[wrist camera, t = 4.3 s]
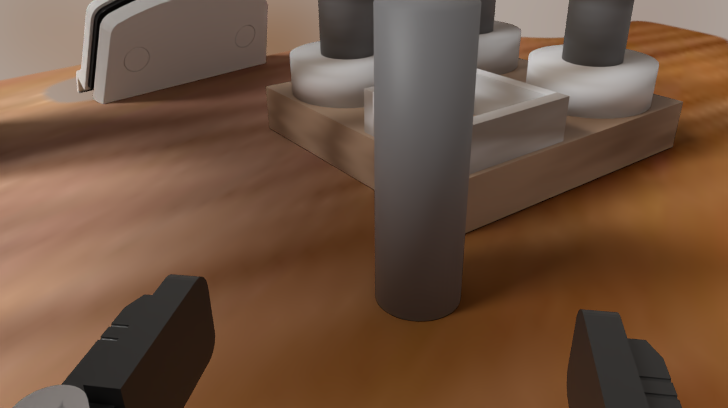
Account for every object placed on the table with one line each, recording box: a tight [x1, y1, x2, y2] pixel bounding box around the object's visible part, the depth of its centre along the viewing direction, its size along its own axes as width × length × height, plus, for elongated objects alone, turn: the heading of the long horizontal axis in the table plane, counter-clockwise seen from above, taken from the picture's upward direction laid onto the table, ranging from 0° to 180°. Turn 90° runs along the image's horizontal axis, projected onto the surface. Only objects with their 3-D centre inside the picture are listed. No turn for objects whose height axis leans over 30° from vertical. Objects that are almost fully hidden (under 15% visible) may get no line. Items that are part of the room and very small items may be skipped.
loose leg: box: [373, 0, 481, 321], centre depth 24 cm, size 4×4×12 cm
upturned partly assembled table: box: [266, 0, 683, 233], centre depth 39 cm, size 19×19×15 cm
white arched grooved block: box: [76, 0, 268, 104], centre depth 54 cm, size 17×5×10 cm, turn 136°
